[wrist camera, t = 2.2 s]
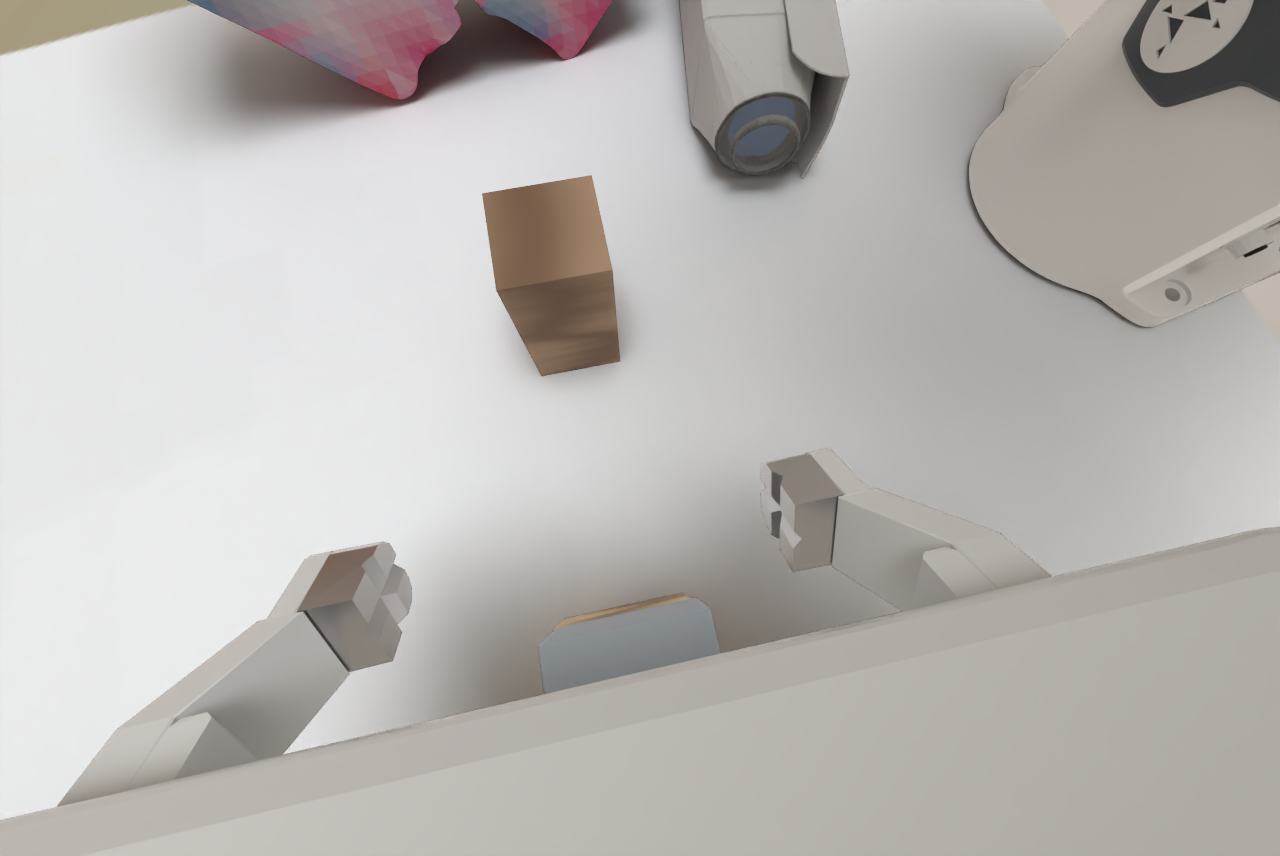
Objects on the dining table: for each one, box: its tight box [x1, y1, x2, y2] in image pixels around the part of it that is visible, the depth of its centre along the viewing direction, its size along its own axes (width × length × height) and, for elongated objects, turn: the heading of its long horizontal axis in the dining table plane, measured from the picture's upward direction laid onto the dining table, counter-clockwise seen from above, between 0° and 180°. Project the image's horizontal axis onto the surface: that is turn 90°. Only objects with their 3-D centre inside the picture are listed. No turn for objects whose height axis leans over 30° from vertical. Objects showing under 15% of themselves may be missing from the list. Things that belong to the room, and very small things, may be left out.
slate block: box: [538, 598, 721, 694], centre depth 17 cm, size 6×6×4 cm
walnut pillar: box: [482, 175, 620, 376], centre depth 23 cm, size 4×4×9 cm
